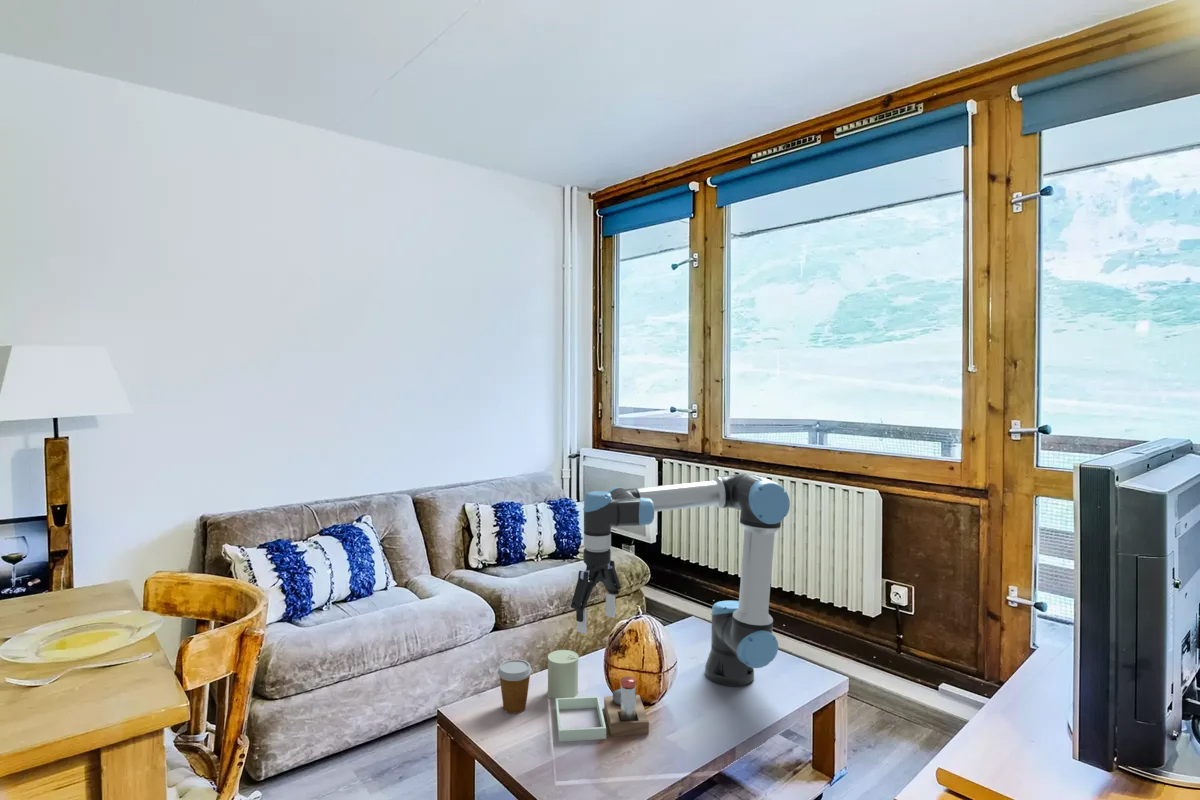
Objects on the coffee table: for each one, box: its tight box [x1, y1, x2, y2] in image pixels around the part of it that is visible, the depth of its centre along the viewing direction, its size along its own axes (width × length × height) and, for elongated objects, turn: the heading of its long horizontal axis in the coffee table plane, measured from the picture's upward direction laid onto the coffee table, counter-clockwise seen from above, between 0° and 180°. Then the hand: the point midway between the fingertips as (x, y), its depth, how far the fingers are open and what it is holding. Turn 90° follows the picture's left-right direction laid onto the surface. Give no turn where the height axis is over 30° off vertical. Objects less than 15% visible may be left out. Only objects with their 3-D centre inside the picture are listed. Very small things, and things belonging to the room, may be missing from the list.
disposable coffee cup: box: [497, 658, 533, 714], centre depth 182 cm, size 10×10×12 cm
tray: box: [555, 695, 607, 742], centre depth 174 cm, size 16×12×4 cm
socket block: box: [603, 688, 650, 737], centre depth 175 cm, size 14×10×7 cm
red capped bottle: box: [620, 675, 637, 722], centre depth 171 cm, size 4×4×13 cm
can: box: [546, 649, 580, 700], centre depth 190 cm, size 9×9×12 cm
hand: (596, 624), depth 178 cm, fingers open, 13 cm apart
